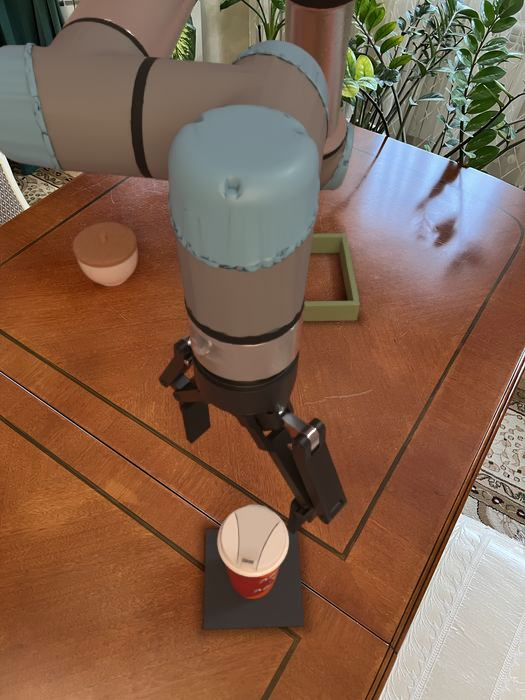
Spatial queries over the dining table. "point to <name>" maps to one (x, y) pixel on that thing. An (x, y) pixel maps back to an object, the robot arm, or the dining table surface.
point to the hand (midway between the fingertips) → (246, 475)
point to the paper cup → (253, 549)
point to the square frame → (350, 307)
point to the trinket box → (106, 252)
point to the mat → (241, 612)
